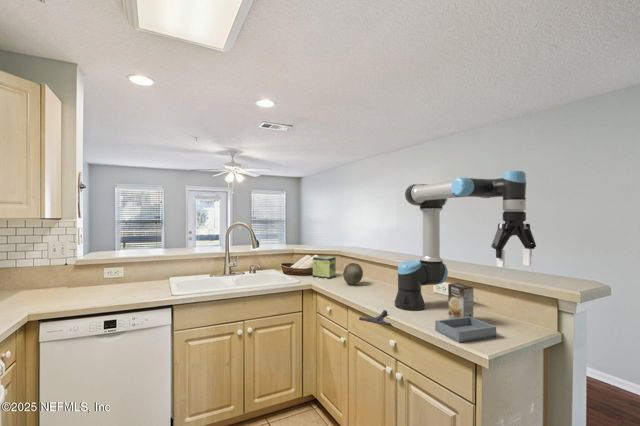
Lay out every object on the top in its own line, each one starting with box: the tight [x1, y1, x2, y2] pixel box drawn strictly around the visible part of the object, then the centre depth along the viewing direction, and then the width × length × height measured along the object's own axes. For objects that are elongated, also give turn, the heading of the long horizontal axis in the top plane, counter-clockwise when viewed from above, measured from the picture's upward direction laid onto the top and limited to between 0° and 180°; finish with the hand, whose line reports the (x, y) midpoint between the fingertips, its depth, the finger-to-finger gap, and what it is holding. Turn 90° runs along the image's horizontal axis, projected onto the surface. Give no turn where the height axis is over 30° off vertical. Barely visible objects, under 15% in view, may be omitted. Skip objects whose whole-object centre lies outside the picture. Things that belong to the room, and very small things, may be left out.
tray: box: [434, 316, 497, 344], centre depth 121 cm, size 13×18×4 cm
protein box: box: [312, 256, 337, 280], centre depth 237 cm, size 10×16×16 cm
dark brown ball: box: [342, 262, 364, 286], centre depth 209 cm, size 14×14×15 cm
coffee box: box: [447, 282, 474, 319], centre depth 136 cm, size 9×6×16 cm
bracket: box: [358, 309, 392, 327], centre depth 139 cm, size 14×15×3 cm
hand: (514, 266), depth 116 cm, fingers open, 13 cm apart
